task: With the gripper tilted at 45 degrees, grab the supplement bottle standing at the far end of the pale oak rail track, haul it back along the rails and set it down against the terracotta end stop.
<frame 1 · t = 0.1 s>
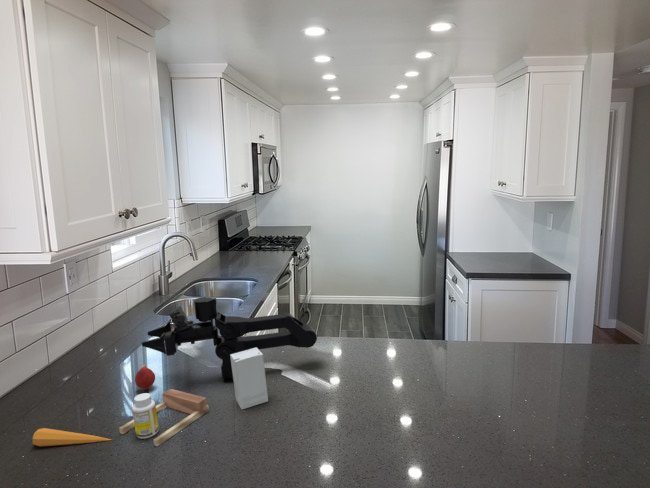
hand: (144, 338, 140), 17 cm above the table, tool horizontal, fingers open, 9 cm apart
skincare box: (251, 402, 130), on the table
rail track: (166, 421, 123), on the table
carrot: (74, 444, 116), on the table
red round piece: (146, 390, 142), on the table
supplement bottle: (147, 434, 118), on the table
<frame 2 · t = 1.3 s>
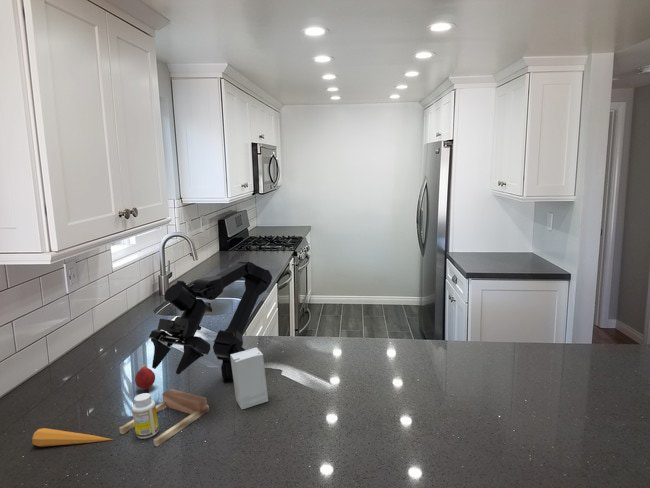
hand: (165, 370, 123), 14 cm above the table, tool tilted 45°, fingers open, 9 cm apart
nothing on the table moved.
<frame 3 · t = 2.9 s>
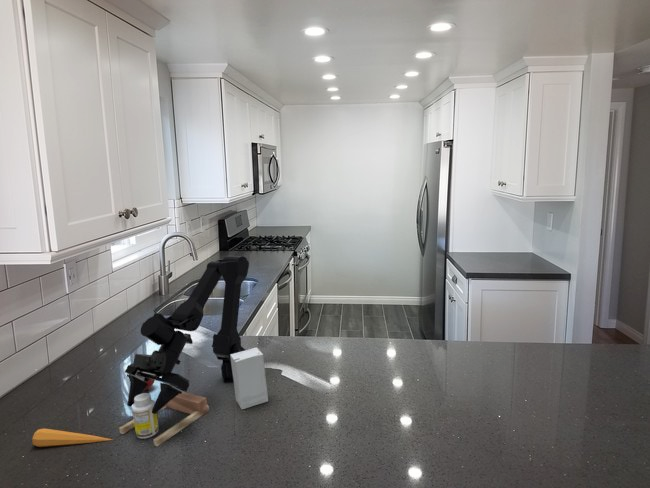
hand: (140, 409, 116), 7 cm above the table, tool tilted 45°, fingers open, 9 cm apart
nothing on the table moved.
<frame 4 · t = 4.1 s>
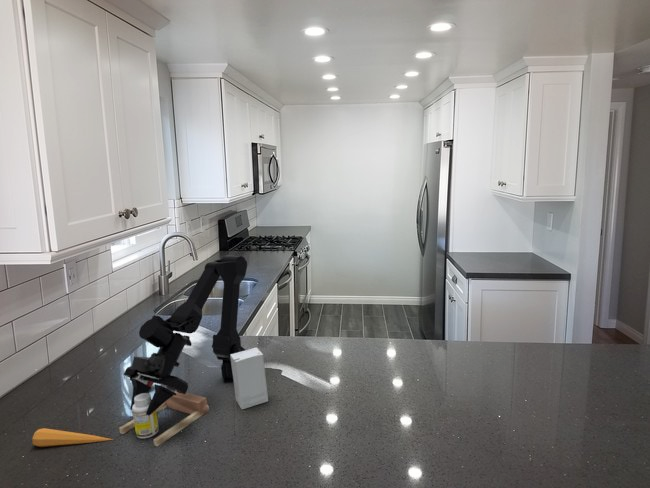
hand: (139, 412, 116), 7 cm above the table, tool tilted 45°, fingers closed on supplement bottle, 6 cm apart
supplement bottle: (147, 434, 118), on the table, touching gripper
everything else where it was.
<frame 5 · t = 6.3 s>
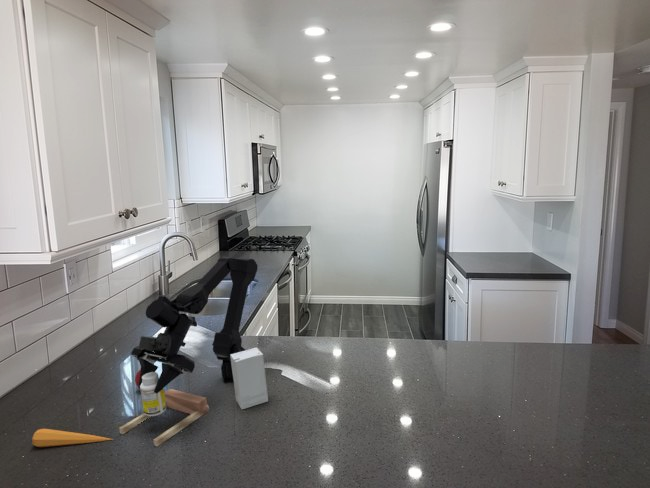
hand: (147, 390, 117), 11 cm above the table, tool tilted 45°, fingers closed on supplement bottle, 6 cm apart
supplement bottle: (155, 412, 120), point 4 cm above the table, touching gripper
everything else where it was.
when the fingers open (7 cm above the table, at t = 8.9 s): supplement bottle stays where it is, on the table.
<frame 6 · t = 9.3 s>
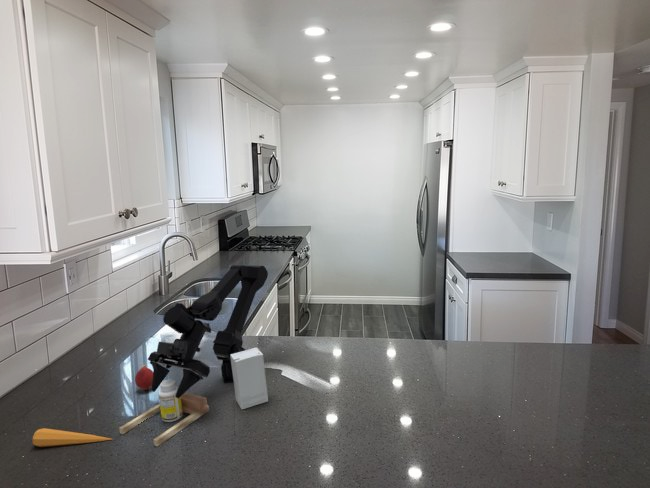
hand: (164, 394, 122), 8 cm above the table, tool tilted 45°, fingers open, 9 cm apart
supplement bottle: (172, 418, 125), on the table
everything else where it was.
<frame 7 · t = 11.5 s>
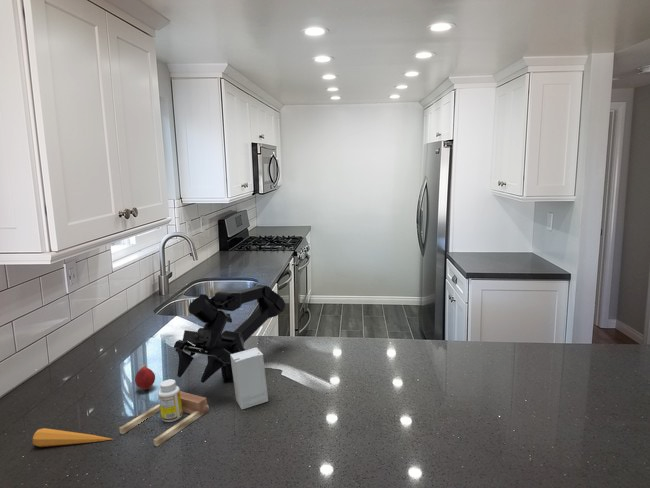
hand: (190, 379, 130), 7 cm above the table, tool tilted 45°, fingers open, 9 cm apart
nothing on the table moved.
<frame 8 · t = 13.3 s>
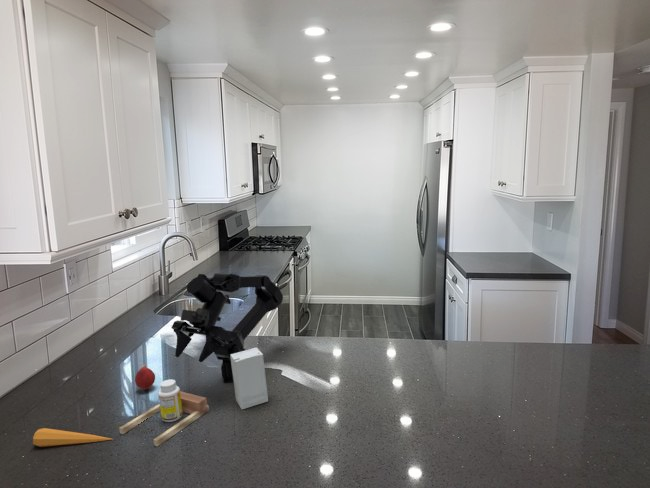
hand: (188, 359, 129), 14 cm above the table, tool tilted 45°, fingers open, 9 cm apart
nothing on the table moved.
at the end: supplement bottle 0.3 cm from the target spot, on the table; supplement bottle tilted 0°; the gripper is holding nothing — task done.
